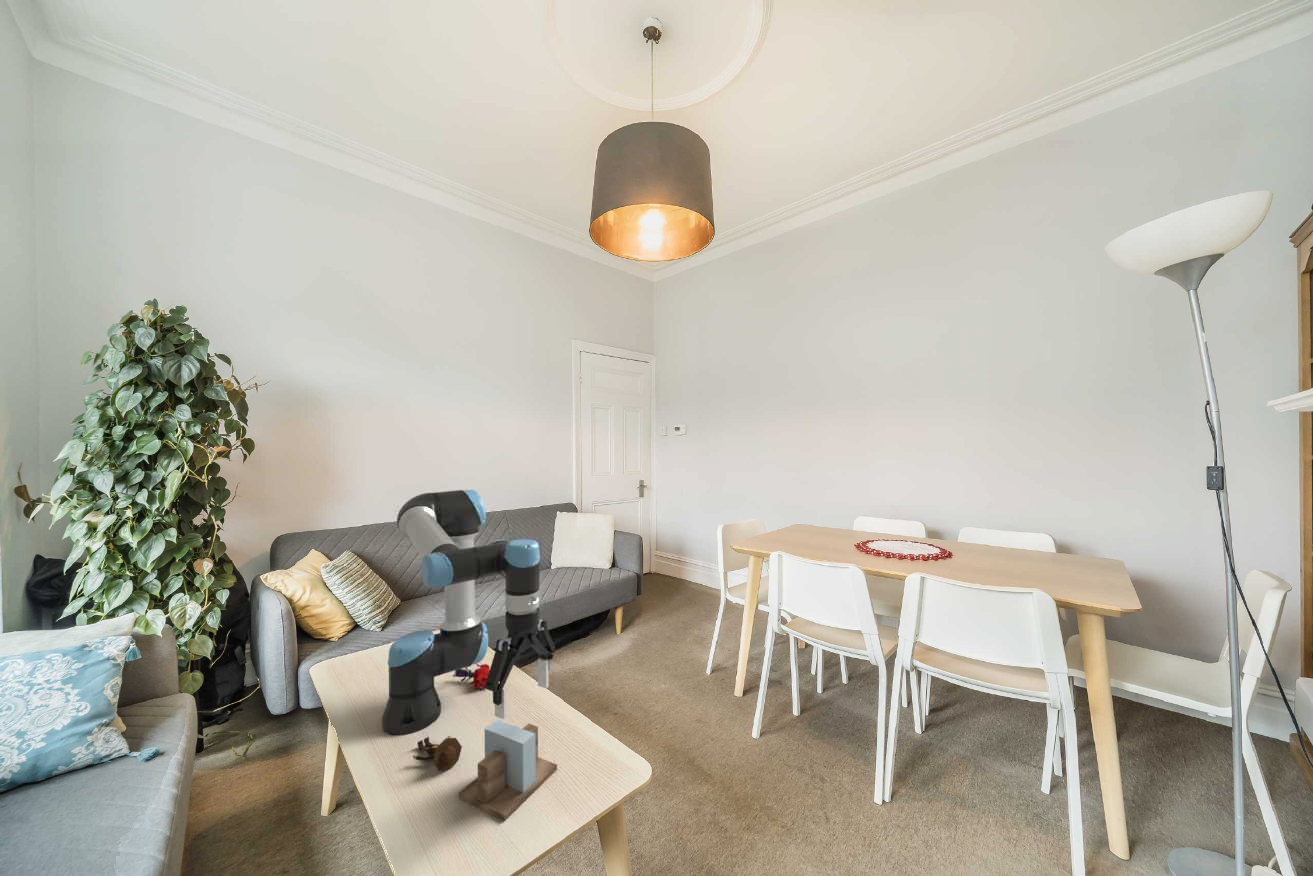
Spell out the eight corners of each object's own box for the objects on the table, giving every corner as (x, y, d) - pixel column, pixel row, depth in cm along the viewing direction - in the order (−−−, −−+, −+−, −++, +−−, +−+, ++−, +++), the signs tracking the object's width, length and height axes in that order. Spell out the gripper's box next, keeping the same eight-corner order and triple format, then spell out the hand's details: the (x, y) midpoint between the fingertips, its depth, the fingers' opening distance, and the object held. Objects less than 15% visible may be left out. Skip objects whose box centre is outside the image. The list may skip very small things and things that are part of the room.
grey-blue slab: (485, 775, 110) (484, 728, 110) (497, 764, 113) (497, 719, 113) (523, 792, 104) (522, 744, 104) (535, 781, 108) (535, 733, 108)
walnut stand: (458, 798, 105) (458, 757, 105) (514, 752, 120) (513, 716, 120) (504, 821, 98) (504, 777, 98) (557, 769, 113) (556, 731, 113)
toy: (439, 721, 126) (468, 730, 117) (443, 750, 125) (472, 761, 116) (402, 740, 119) (430, 750, 110) (405, 770, 118) (433, 783, 109)
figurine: (460, 673, 159) (499, 678, 156) (444, 691, 151) (485, 697, 148) (457, 656, 157) (497, 661, 154) (441, 674, 149) (483, 679, 146)
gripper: (492, 633, 94) (493, 737, 94) (569, 594, 116) (570, 679, 116) (466, 626, 97) (467, 726, 98) (546, 589, 119) (546, 671, 120)
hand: (523, 700), depth 107 cm, fingers open, 13 cm apart
